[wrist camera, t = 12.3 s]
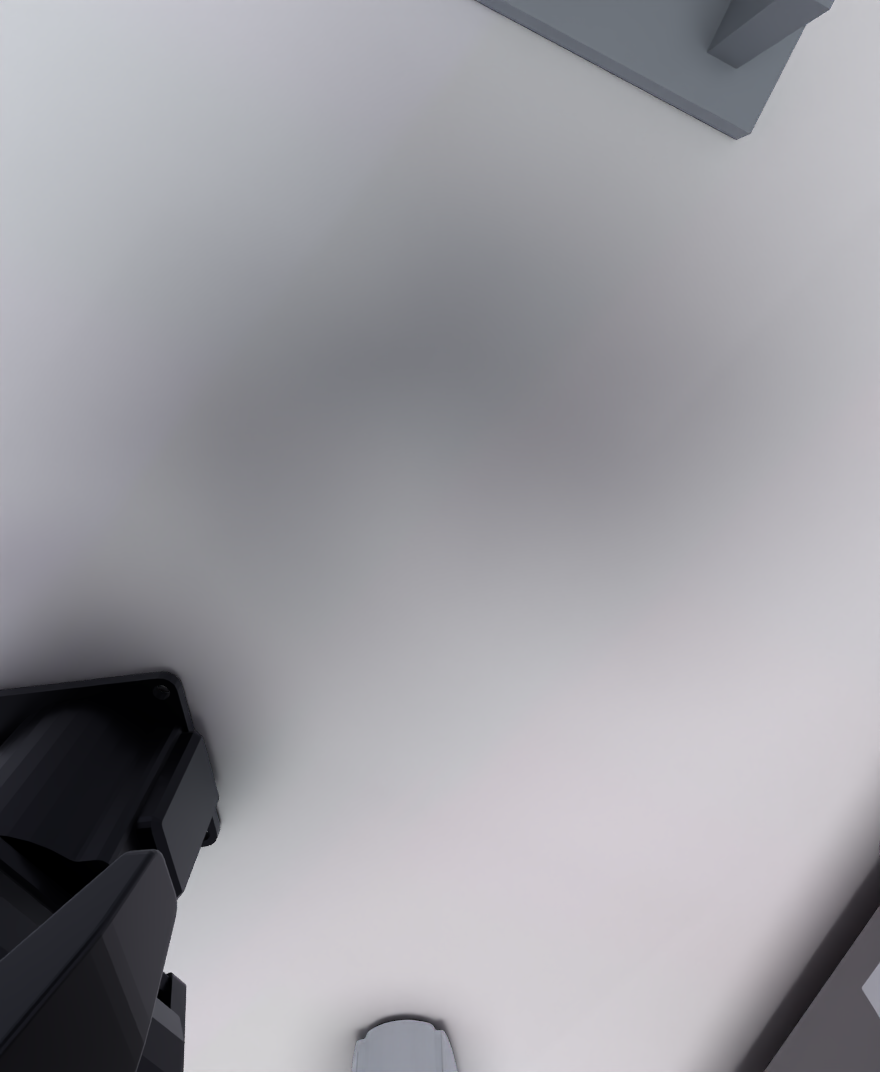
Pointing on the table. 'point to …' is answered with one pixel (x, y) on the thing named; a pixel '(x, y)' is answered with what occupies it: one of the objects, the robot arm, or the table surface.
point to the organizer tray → (841, 1016)
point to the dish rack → (680, 47)
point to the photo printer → (404, 1049)
